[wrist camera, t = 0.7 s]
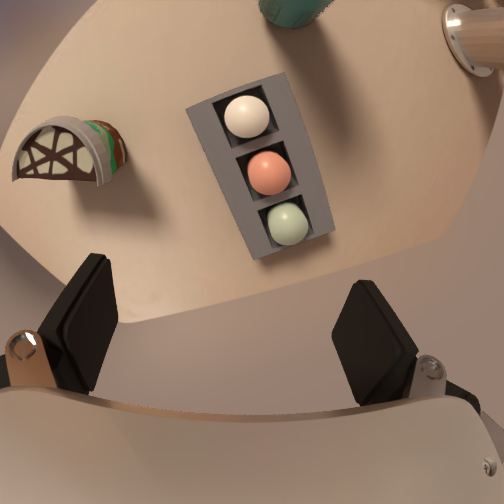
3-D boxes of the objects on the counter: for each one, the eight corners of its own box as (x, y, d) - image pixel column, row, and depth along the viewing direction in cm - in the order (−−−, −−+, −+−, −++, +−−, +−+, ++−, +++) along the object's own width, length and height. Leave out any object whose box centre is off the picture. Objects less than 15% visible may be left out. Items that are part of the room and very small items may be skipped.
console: (277, 77, 26) (284, 72, 22) (324, 214, 34) (335, 230, 31) (191, 108, 27) (185, 109, 23) (250, 241, 36) (253, 260, 32)
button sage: (293, 192, 31) (302, 204, 27) (303, 222, 33) (312, 237, 29) (260, 204, 31) (264, 218, 28) (272, 234, 33) (277, 250, 30)
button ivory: (256, 92, 25) (259, 89, 21) (269, 126, 27) (275, 129, 23) (219, 105, 25) (217, 105, 22) (234, 139, 27) (234, 144, 24)
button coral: (276, 143, 28) (282, 148, 24) (288, 176, 30) (296, 186, 26) (241, 156, 28) (242, 163, 25) (254, 189, 30) (257, 201, 27)
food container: (143, 111, 27) (107, 115, 18) (137, 162, 29) (103, 186, 21) (57, 112, 25) (7, 123, 16) (55, 158, 28) (8, 181, 19)
